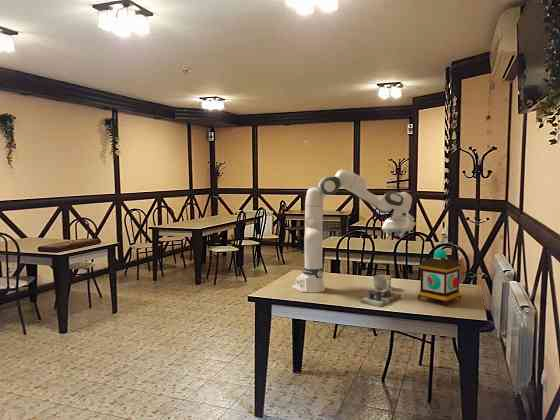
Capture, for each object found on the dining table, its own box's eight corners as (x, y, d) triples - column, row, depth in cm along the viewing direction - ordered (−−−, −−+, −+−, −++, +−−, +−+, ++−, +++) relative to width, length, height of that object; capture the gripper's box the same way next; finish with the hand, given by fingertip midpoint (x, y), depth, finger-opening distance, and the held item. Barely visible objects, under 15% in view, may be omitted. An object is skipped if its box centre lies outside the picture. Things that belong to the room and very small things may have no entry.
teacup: (391, 291, 262) (391, 279, 262) (373, 291, 264) (373, 278, 264) (389, 286, 276) (390, 274, 275) (372, 285, 278) (372, 273, 278)
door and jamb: (382, 294, 257) (382, 283, 257) (401, 298, 249) (401, 287, 248) (360, 302, 240) (360, 291, 239) (379, 307, 231) (379, 295, 231)
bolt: (387, 291, 252) (387, 274, 252) (392, 292, 250) (392, 275, 249) (378, 294, 245) (378, 277, 244) (383, 295, 243) (383, 278, 242)
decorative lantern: (464, 301, 241) (466, 248, 239) (447, 308, 228) (448, 252, 226) (431, 294, 256) (432, 244, 254) (413, 300, 243) (414, 248, 241)
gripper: (383, 215, 267) (377, 235, 262) (410, 213, 251) (404, 234, 246) (389, 220, 270) (383, 240, 265) (416, 218, 254) (410, 239, 249)
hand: (393, 237), depth 256 cm, fingers open, 8 cm apart
